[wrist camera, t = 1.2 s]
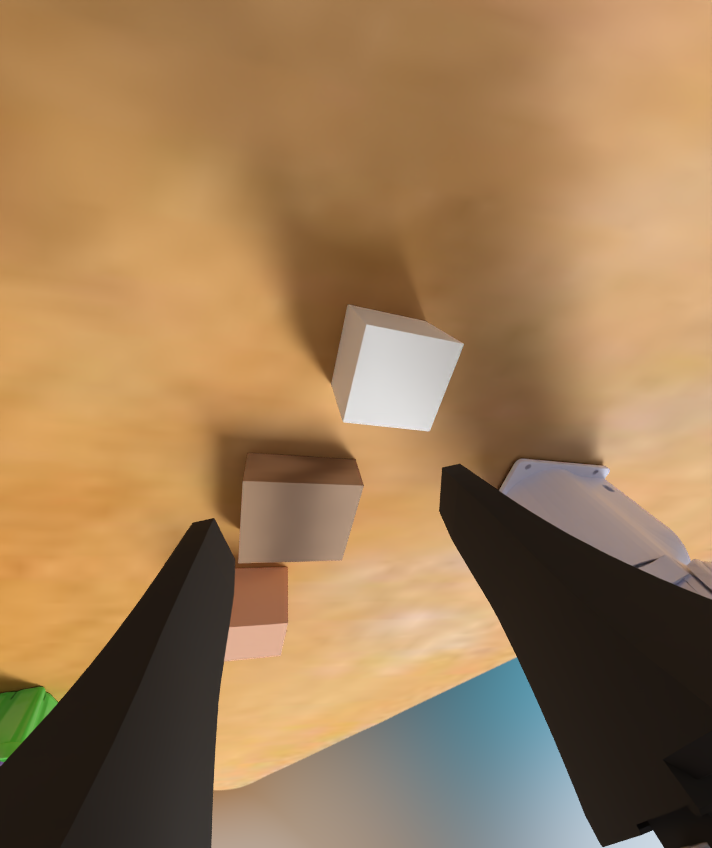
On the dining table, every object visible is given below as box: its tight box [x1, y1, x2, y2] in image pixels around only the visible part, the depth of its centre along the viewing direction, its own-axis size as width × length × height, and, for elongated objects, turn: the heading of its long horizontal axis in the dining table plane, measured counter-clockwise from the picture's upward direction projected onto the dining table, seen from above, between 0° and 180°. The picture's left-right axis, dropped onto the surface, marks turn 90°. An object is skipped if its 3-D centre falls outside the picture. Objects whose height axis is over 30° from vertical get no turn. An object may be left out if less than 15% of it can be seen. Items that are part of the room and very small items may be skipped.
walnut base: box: [238, 453, 364, 563], centre depth 21 cm, size 7×7×3 cm
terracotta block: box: [224, 567, 288, 661], centre depth 24 cm, size 4×4×4 cm
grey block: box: [331, 304, 464, 431], centre depth 16 cm, size 4×4×4 cm
